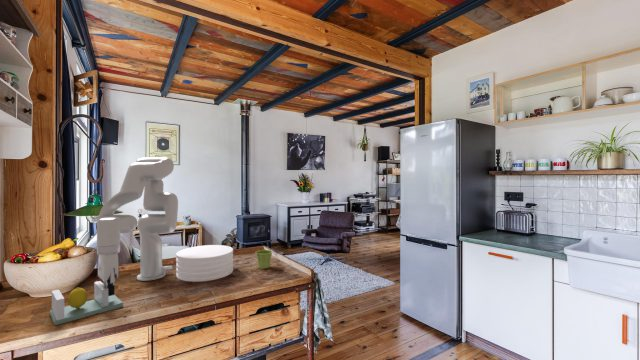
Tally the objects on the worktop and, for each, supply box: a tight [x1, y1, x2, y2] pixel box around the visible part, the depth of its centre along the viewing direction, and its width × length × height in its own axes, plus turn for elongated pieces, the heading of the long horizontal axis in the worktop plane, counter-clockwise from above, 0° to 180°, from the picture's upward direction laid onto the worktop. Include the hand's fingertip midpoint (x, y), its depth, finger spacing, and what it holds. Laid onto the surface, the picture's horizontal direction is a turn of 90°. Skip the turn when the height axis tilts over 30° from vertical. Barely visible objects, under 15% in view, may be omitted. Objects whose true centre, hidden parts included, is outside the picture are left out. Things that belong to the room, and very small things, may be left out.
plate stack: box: [175, 244, 234, 282], centre depth 159 cm, size 28×28×12 cm
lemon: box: [67, 287, 88, 309], centre depth 112 cm, size 6×6×8 cm
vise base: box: [49, 289, 124, 326], centre depth 114 cm, size 20×12×8 cm, turn 138°
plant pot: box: [254, 249, 273, 270], centre depth 167 cm, size 9×9×9 cm
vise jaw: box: [93, 280, 108, 307], centre depth 117 cm, size 2×12×7 cm, turn 48°
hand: (109, 295), depth 119 cm, fingers closed
